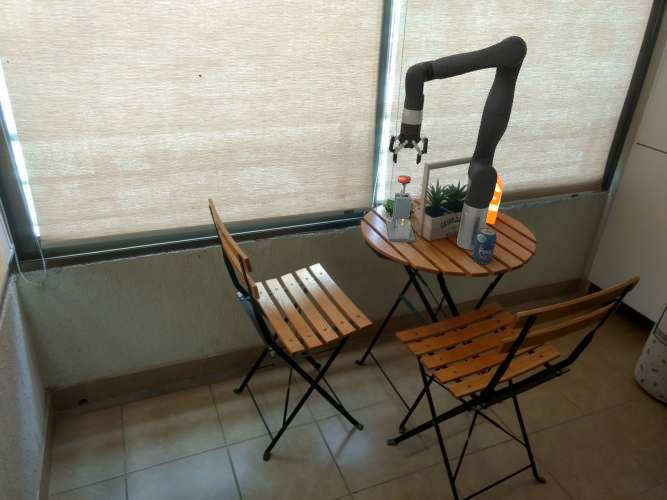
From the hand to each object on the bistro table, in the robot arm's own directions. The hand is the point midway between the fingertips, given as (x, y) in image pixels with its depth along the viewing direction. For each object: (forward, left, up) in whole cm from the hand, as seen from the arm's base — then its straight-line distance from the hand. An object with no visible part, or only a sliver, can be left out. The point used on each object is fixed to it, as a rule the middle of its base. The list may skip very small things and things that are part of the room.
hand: (406, 163), depth 194 cm
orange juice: (-40, -14, -28) cm, 51 cm away
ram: (0, -1, -20) cm, 20 cm away
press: (0, +4, -28) cm, 28 cm away
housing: (0, +9, -27) cm, 28 cm away
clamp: (-2, -13, -28) cm, 31 cm away
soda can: (-28, +24, -28) cm, 46 cm away
